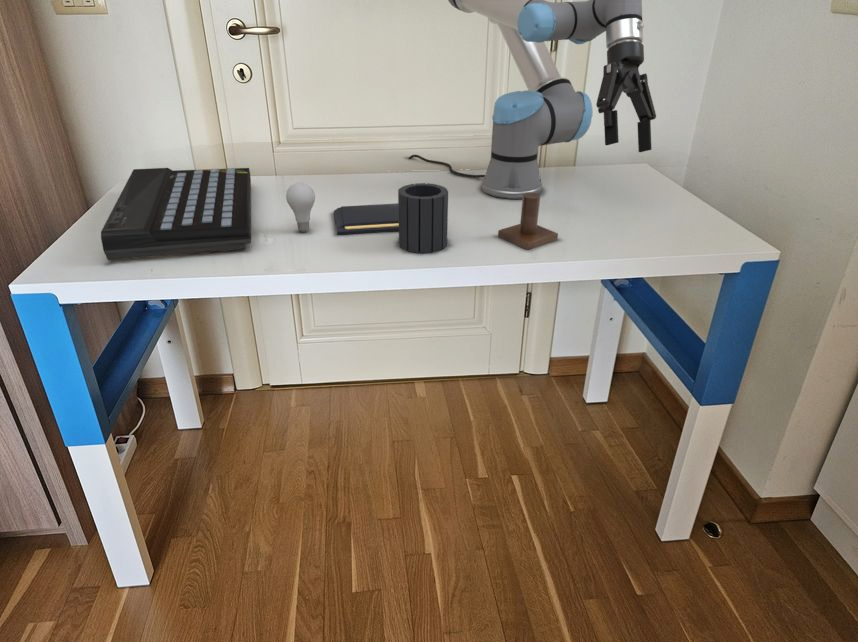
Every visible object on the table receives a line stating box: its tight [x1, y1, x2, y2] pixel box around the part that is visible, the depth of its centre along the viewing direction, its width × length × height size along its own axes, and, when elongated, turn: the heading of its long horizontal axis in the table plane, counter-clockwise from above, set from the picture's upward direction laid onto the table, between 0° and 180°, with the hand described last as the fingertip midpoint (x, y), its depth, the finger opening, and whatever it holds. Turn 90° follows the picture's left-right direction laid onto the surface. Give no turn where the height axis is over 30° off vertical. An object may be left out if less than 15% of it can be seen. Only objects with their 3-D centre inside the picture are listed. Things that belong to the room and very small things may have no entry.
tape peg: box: [497, 193, 559, 250], centre depth 138 cm, size 9×9×10 cm
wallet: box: [333, 202, 399, 236], centre depth 149 cm, size 20×2×15 cm
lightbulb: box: [285, 181, 316, 233], centre depth 141 cm, size 6×6×11 cm
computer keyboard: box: [100, 167, 252, 261], centre depth 148 cm, size 45×28×7 cm, turn 12°
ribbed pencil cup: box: [397, 182, 449, 254], centre depth 135 cm, size 10×10×12 cm
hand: (628, 147), depth 141 cm, fingers open, 13 cm apart
